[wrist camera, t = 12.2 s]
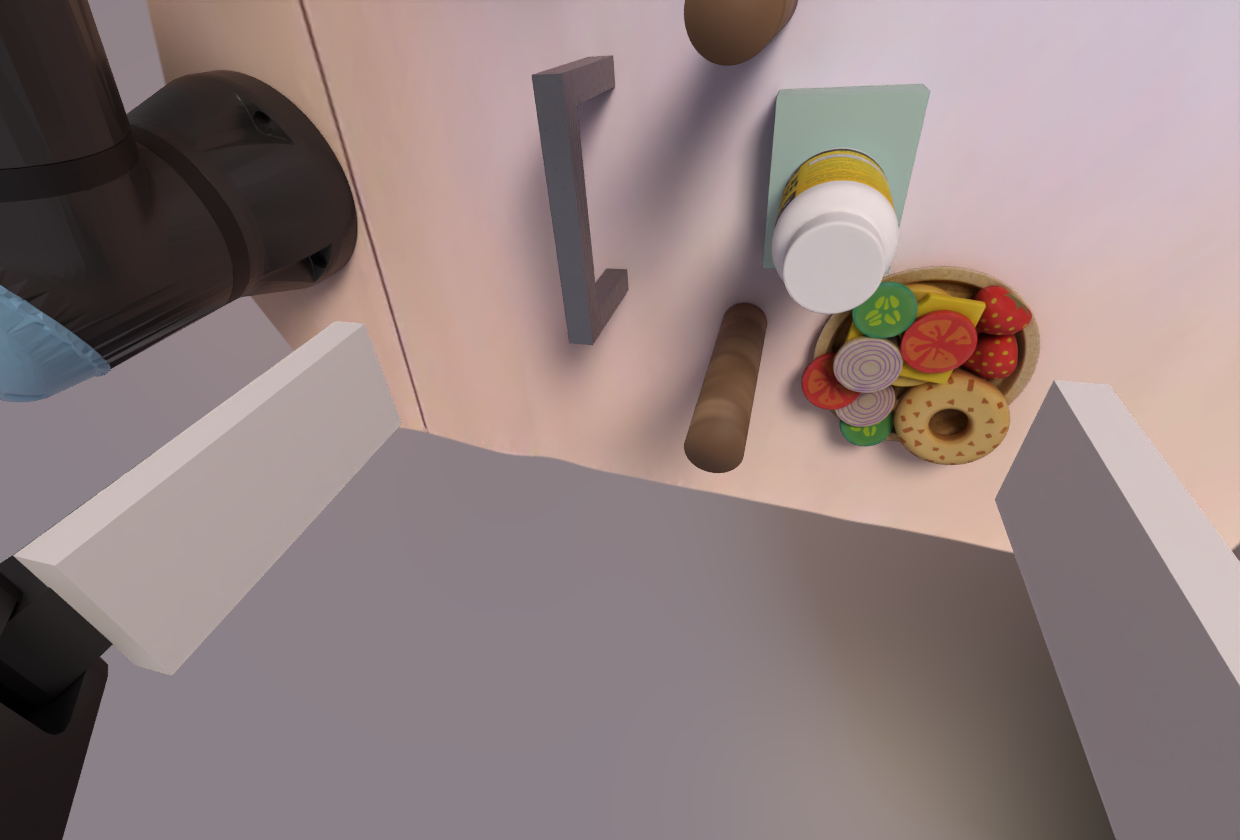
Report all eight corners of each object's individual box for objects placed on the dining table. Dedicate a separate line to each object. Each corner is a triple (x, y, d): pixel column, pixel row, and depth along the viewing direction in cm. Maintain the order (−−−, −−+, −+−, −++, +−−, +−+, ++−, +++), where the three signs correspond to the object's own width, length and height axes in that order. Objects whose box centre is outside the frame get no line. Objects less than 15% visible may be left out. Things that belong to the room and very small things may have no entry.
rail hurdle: (608, 288, 40) (569, 343, 34) (587, 57, 32) (531, 74, 26) (628, 289, 40) (592, 345, 34) (613, 55, 31) (561, 73, 25)
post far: (722, 340, 40) (684, 468, 29) (723, 301, 38) (684, 423, 28) (765, 343, 39) (742, 476, 29) (768, 304, 37) (745, 430, 27)
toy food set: (974, 452, 40) (984, 483, 38) (787, 414, 43) (785, 440, 40) (1079, 277, 32) (1101, 302, 29) (838, 242, 34) (839, 262, 32)
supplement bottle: (784, 146, 29) (770, 202, 22) (897, 143, 28) (922, 201, 21) (776, 248, 33) (762, 326, 25) (877, 249, 31) (893, 333, 24)
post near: (735, 36, 29) (684, 68, 19) (738, -38, 27) (683, -50, 17) (795, 32, 28) (777, 62, 18) (802, -44, 27) (787, -60, 16)
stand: (765, 253, 35) (762, 268, 34) (780, 89, 30) (776, 97, 28) (885, 257, 34) (888, 273, 32) (923, 84, 28) (930, 91, 26)
